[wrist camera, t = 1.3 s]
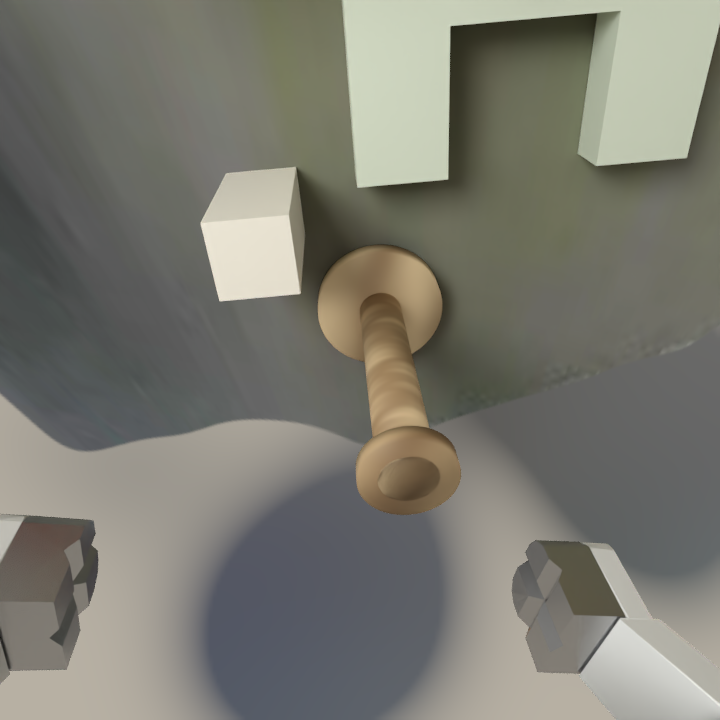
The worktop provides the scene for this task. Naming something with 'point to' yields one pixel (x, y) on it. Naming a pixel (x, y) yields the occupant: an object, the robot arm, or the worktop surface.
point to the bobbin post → (391, 373)
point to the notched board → (506, 3)
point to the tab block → (256, 234)
